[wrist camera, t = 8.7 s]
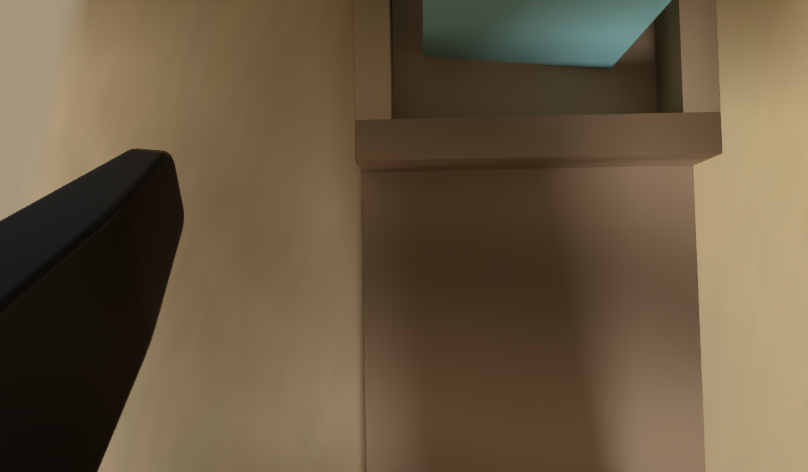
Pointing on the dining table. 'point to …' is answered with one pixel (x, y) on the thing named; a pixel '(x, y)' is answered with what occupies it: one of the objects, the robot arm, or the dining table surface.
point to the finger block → (536, 30)
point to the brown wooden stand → (533, 250)
